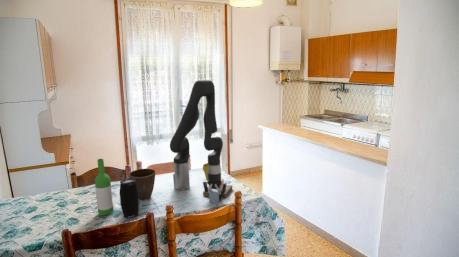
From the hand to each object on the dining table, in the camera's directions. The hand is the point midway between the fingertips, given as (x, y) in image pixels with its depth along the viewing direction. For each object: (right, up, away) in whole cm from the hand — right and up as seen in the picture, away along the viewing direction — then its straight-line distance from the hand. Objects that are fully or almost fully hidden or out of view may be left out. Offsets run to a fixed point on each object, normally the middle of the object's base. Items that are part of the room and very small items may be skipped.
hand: (215, 199), depth 185 cm
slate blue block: (0, -1, 0) cm, 1 cm away
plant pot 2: (-5, +6, +35) cm, 36 cm away
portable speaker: (-44, -5, -16) cm, 47 cm away
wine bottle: (-59, -5, -13) cm, 60 cm away
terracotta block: (+1, +4, +10) cm, 11 cm away
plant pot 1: (-42, -1, +5) cm, 43 cm away
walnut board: (+1, +2, +11) cm, 11 cm away
